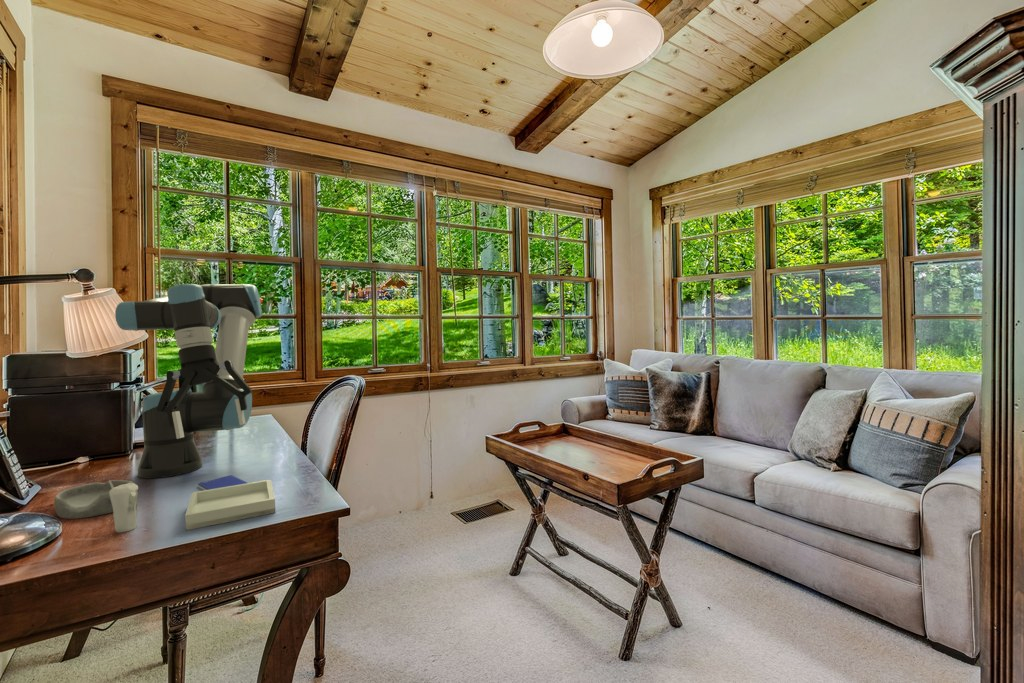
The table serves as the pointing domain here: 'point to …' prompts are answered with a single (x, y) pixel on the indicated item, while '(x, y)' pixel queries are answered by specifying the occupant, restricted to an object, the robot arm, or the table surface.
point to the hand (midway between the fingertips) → (212, 431)
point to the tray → (230, 504)
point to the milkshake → (124, 506)
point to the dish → (86, 500)
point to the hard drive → (221, 482)
